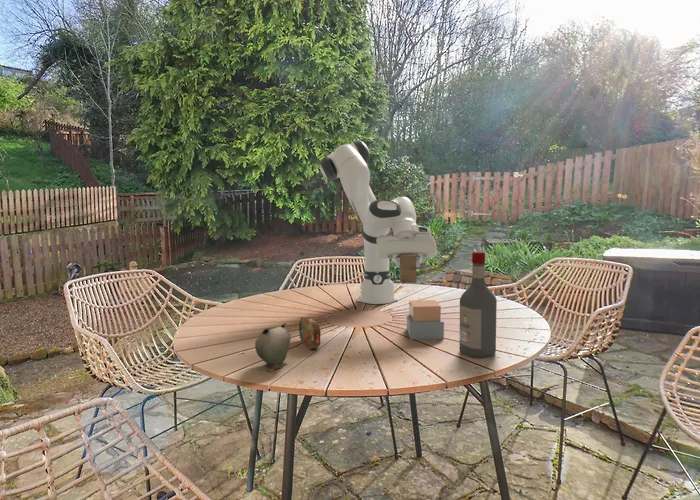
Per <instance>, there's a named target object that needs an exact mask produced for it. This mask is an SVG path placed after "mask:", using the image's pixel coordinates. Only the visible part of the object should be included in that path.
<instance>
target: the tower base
mask: <svg viewBox="0 0 700 500" xmlns="http://www.w3.org/2000/svg"><path fill="white" fill-rule="evenodd" d="M407 331H408V332H407ZM406 332H407V335H408V334H409V335H408V337H409V340H444V339H445V322H444V320H443V318H442V317H441V321H424V322H413V320H412V319H411V317H410V315H409V313H406Z"/></svg>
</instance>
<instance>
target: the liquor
mask: <svg viewBox="0 0 700 500" xmlns="http://www.w3.org/2000/svg"><path fill="white" fill-rule="evenodd" d="M471 253H472V254H471V264H472V271H471V275H472V277H471V282H470V283H471V284H470V286H469V287H468V288H466V290H465V291H464V292H463V293H462V294H461V296H460V298H459V351H460V353H462V354H464V355H466V356H468V357H470V358H474V359H475V358H476V359H484V358H488V357H492V356H493V357H494V355H495V354H496V350H497V304H498V303H497V302H498V301H497V300H498V299H497V297H496V295H495V294H494V293H493V292H492V290H491V289H490V288H488V286H487V284H486V281H485V278H486V277H485V264H486V252H485V251H472V252H471Z"/></svg>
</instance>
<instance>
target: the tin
mask: <svg viewBox="0 0 700 500" xmlns="http://www.w3.org/2000/svg"><path fill="white" fill-rule="evenodd" d="M298 325H299V326H298V327H299V329H298V330H299V331H298V332H299V339H300V341H301V343H302V344H303V345H304V346H305V347H306V348H307V349H308V350H314V349H318V348H319V347H320V345H321V333H322V331H321V327H320V325H319V323H318V322H316V321H315V320H314V319H313V318H311V317H310V316H309V317H308V316H307V317H300V320H299V324H298Z"/></svg>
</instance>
